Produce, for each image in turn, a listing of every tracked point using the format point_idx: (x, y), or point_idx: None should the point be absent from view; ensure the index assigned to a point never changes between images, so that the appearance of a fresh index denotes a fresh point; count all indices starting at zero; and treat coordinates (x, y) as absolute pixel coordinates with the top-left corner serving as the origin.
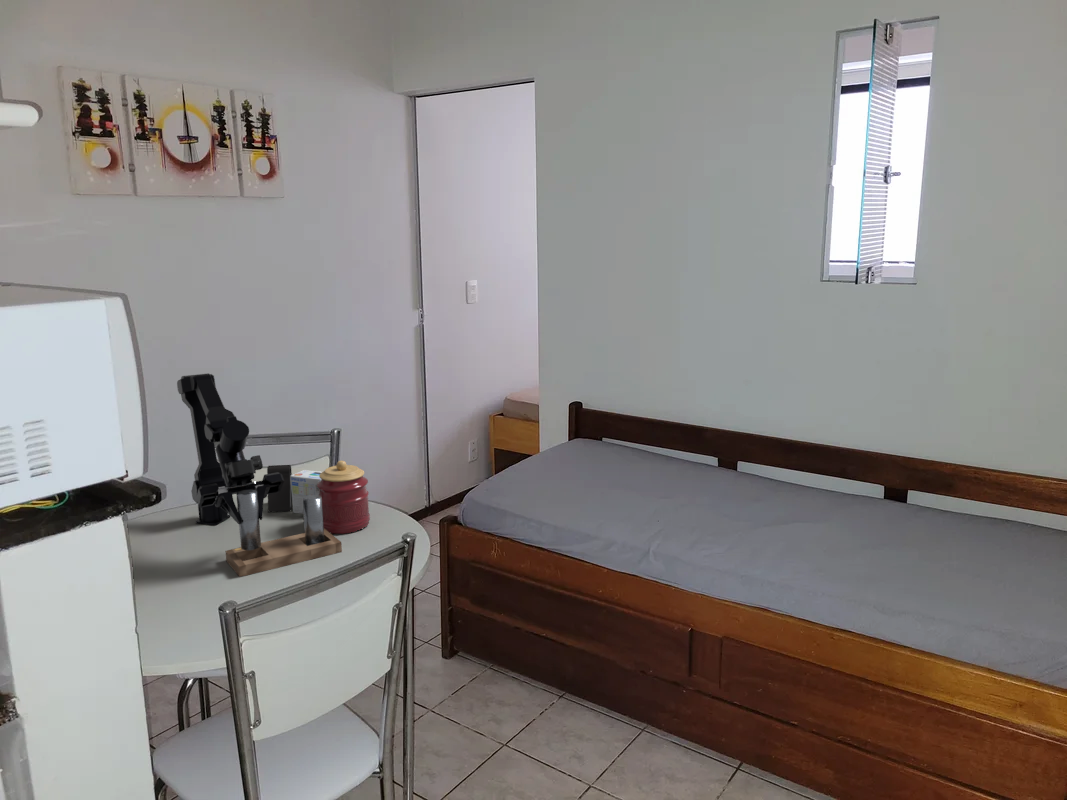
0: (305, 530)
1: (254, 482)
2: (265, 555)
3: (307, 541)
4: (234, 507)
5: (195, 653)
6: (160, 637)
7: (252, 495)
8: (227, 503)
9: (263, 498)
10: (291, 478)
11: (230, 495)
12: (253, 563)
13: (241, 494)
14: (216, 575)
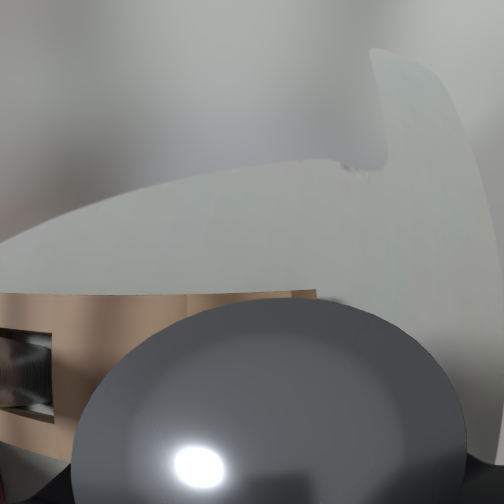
0: (16, 374)
1: None
2: None
3: (39, 365)
4: None
5: (393, 60)
6: (449, 120)
7: (205, 317)
8: (470, 457)
9: (61, 474)
10: None
11: (492, 501)
12: (261, 292)
13: (406, 446)
14: None
